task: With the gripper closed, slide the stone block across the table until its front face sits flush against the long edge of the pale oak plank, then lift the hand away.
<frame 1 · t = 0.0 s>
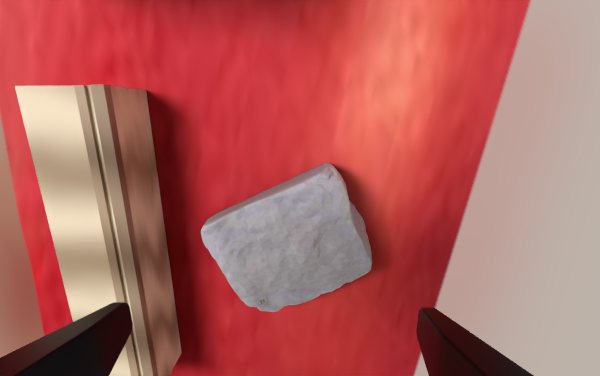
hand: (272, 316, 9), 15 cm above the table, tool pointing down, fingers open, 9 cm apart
stone block: (294, 235, 25), on the table
oak plank: (131, 237, 24), on the table
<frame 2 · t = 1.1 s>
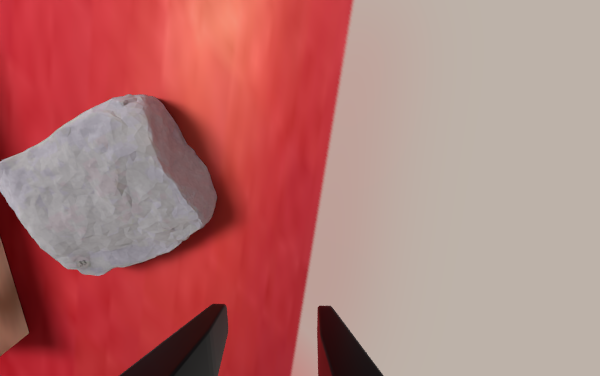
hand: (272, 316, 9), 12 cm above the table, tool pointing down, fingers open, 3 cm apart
stone block: (134, 189, 21), on the table
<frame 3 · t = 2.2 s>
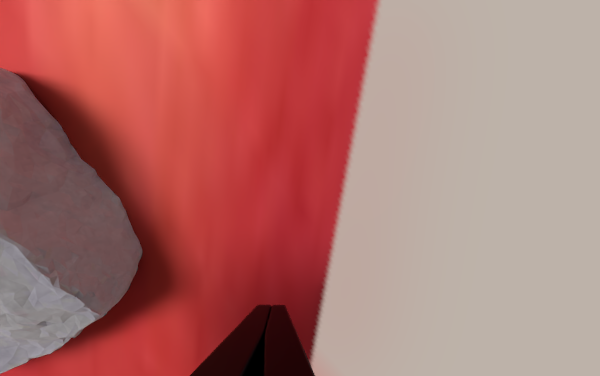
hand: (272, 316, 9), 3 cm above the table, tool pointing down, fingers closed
stone block: (2, 234, 12), on the table
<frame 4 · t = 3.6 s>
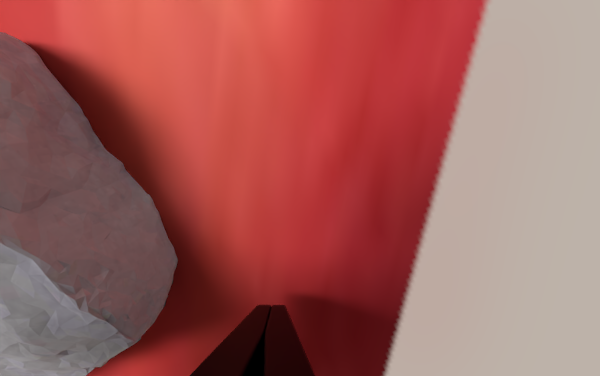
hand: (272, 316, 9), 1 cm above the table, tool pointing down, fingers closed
stone block: (10, 241, 10), on the table
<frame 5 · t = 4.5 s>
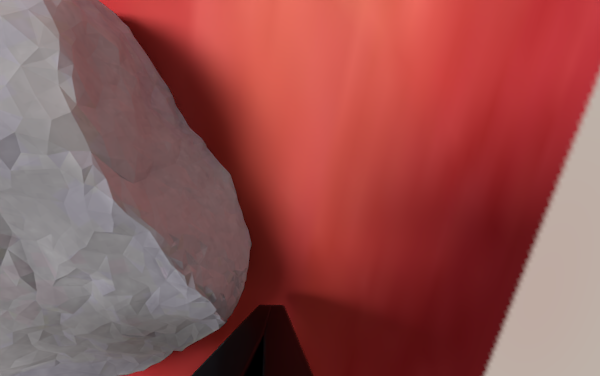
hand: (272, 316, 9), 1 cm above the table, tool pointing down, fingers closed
stone block: (74, 223, 10), on the table, touching gripper
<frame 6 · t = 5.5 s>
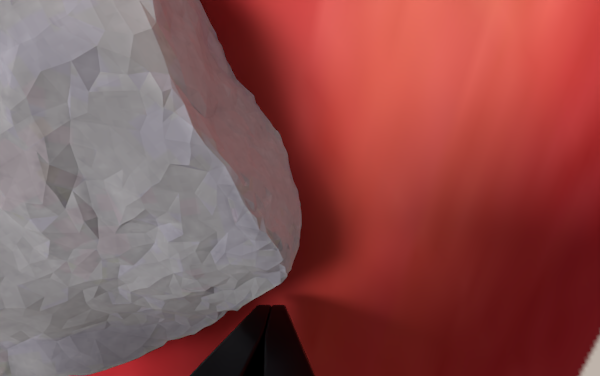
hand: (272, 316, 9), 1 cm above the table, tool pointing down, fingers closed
stone block: (116, 188, 10), on the table
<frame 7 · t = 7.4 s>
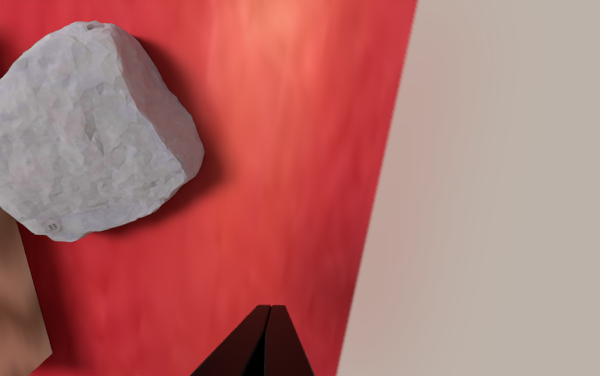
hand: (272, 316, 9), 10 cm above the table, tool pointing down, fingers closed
stone block: (112, 146, 19), on the table
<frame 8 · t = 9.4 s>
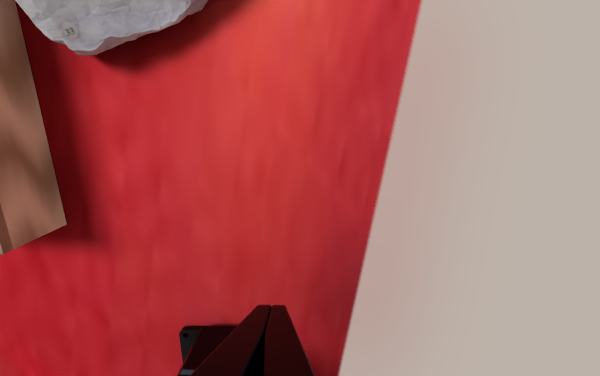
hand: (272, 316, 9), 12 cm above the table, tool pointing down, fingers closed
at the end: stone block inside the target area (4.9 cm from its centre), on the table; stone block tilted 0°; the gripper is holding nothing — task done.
